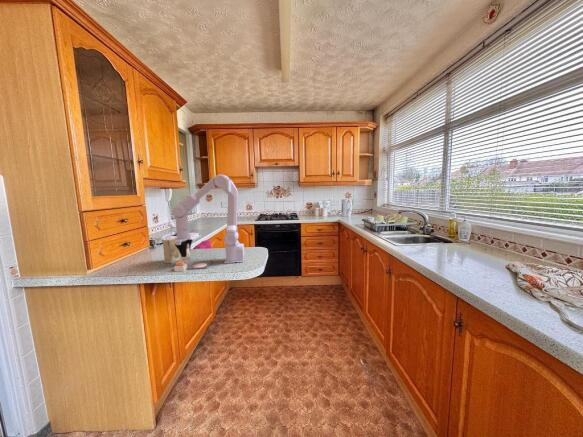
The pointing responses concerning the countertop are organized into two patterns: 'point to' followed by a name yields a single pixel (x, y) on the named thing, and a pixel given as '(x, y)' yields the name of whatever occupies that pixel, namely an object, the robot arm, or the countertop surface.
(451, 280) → the countertop surface
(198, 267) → the picture board
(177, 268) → the button housing
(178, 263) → the button
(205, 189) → the robot arm
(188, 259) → the rose marker
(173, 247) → the skincare box
